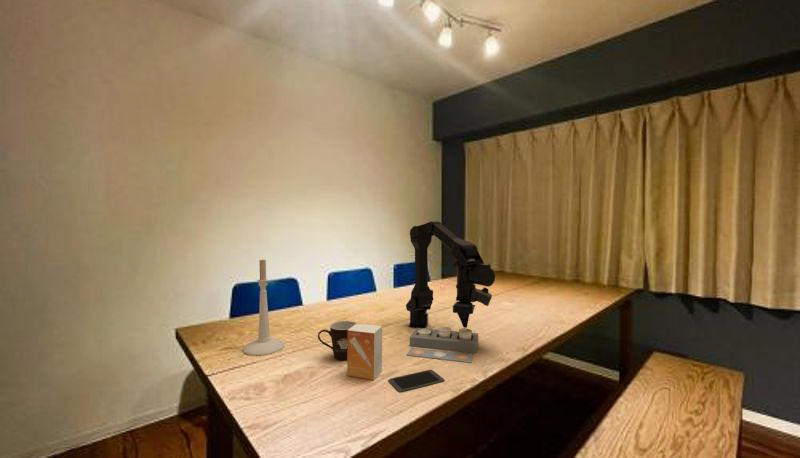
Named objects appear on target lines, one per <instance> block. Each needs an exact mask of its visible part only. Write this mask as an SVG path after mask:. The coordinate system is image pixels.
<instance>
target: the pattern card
mask: <svg viewBox="0 0 800 458" xmlns="http://www.w3.org/2000/svg"><path fill="white" fill-rule="evenodd" d="M406 356H407V357H415V358H416V357H417V358H423V359H424V358H425V359H432V360H441V361H451V362H459V363H467V364H468V363H469V364H472V362H473V353H467V352H458V351H449V350H439V349H430V348H421V347H410V349H409V350H408V352H407V353H406Z"/></svg>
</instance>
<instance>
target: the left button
mask: <svg viewBox="0 0 800 458" xmlns="http://www.w3.org/2000/svg"><path fill="white" fill-rule="evenodd" d="M429 329H430V328H424V329H420V330H418V333H419V335H420V336H430V333H431V330H429Z"/></svg>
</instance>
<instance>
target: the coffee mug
mask: <svg viewBox="0 0 800 458" xmlns="http://www.w3.org/2000/svg"><path fill="white" fill-rule="evenodd" d="M355 324H358V323H357V322H356V321H352V320H339V321H336V322H332V323H331V324H330V325H329V328H330V329H329V330H328V329H321V330H319V332H318V333H317V339H318V340H319V342H321V343H322V345H324V346H326V347H327V348H329V349H331V350H332V353H333V359H334V360H336V361H338V362H347V353H348V352H347V351H348V348H347V343H348V329H350V328H351V327H352V326H354V325H355ZM323 332H324V333H327V334H329V336H330V338H331V345H330V344H328V343H326V342H325V341H323V340H322V339H321V337H320V335H321V333H323Z"/></svg>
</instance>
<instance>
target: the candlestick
mask: <svg viewBox="0 0 800 458" xmlns="http://www.w3.org/2000/svg"><path fill="white" fill-rule="evenodd" d="M268 281H270V280H269V279H268V278H267V260H266V259H259V279H257V282H258V286H259V289H260V291H259V311H258V312H259V315H258V335H257V336H258V337H257V339H256V340H253V341H250V342H249V343H247V344H246V345H245V346H244V347H243V349H242V350H243V351H242V352H244V353H246V354H248V355H247V356H249V355H265V356H268V355H267V354H270V355H273V354H272V353H274V354H276V353H275V352H277V353H279V352H280V350H281V351H283V349H284V348H285V347H284V346H285V345H286V344H285V342H284V341H283V340H281V339H280V338H275V337H271V336H270V334H271V333H270V322H269V321H270V320H269V308H268V295H267V294H268V293H267V291H268V290H267V286H268ZM278 351H279V352H278ZM244 353H243V354H244ZM246 354H245V355H246Z"/></svg>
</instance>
